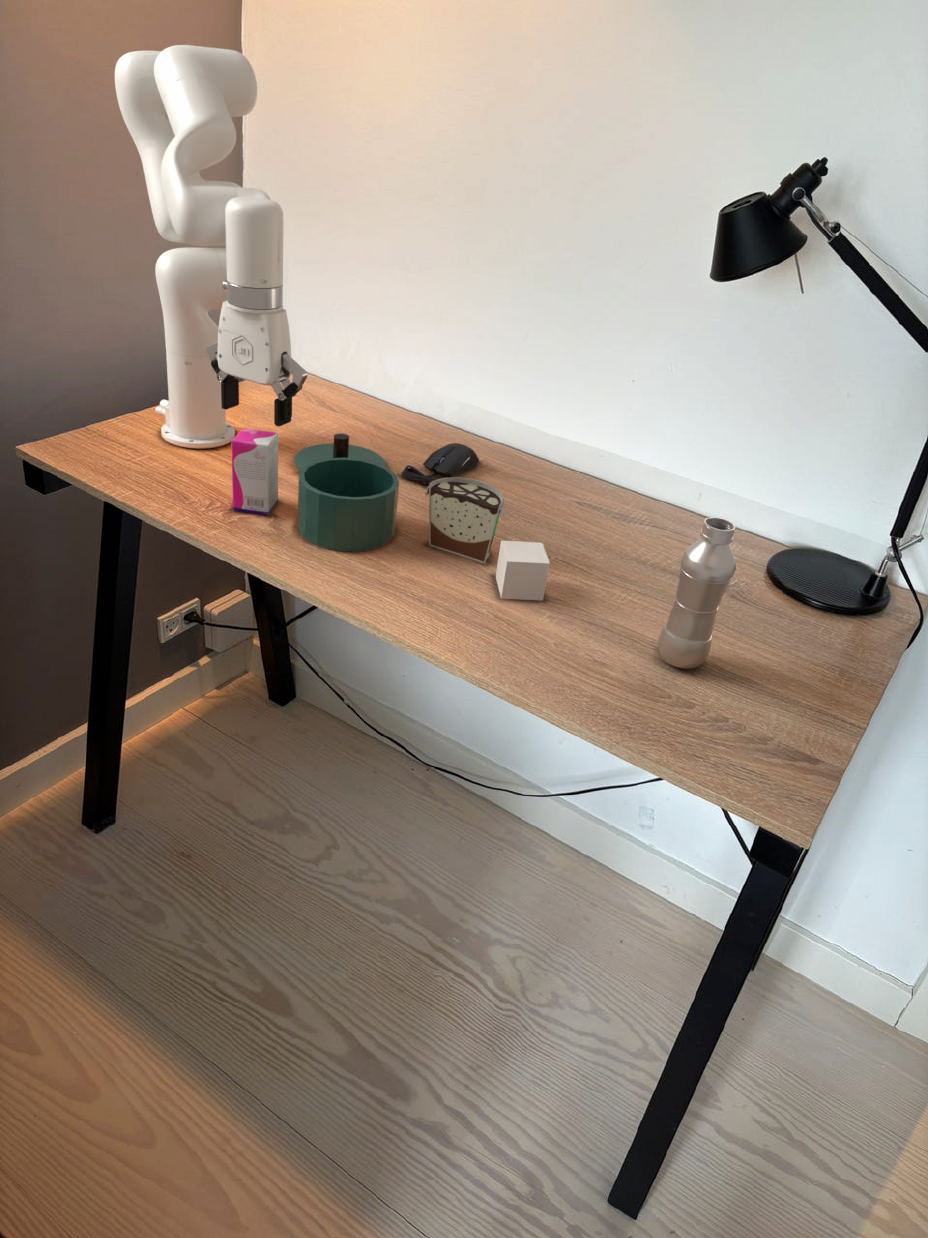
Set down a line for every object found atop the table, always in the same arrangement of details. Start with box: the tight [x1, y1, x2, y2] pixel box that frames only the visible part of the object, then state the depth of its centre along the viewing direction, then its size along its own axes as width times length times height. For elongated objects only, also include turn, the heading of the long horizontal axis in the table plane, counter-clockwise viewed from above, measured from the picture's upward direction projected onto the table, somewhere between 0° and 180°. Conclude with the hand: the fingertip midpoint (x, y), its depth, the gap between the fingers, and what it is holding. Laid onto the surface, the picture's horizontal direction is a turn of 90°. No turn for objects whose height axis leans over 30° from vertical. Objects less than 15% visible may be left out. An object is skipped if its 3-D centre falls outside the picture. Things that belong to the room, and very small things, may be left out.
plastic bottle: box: [657, 516, 737, 670], centre depth 117 cm, size 6×7×20 cm
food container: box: [424, 476, 506, 565], centre depth 140 cm, size 12×6×10 cm, turn 65°
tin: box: [297, 458, 400, 552], centre depth 141 cm, size 15×15×8 cm
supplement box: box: [230, 427, 279, 516], centre depth 143 cm, size 6×6×12 cm
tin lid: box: [293, 433, 387, 472], centre depth 160 cm, size 16×16×6 cm
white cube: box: [495, 540, 551, 601], centre depth 132 cm, size 6×6×6 cm
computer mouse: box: [401, 442, 480, 487], centre depth 163 cm, size 12×17×4 cm
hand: (256, 415), depth 138 cm, fingers open, 9 cm apart
